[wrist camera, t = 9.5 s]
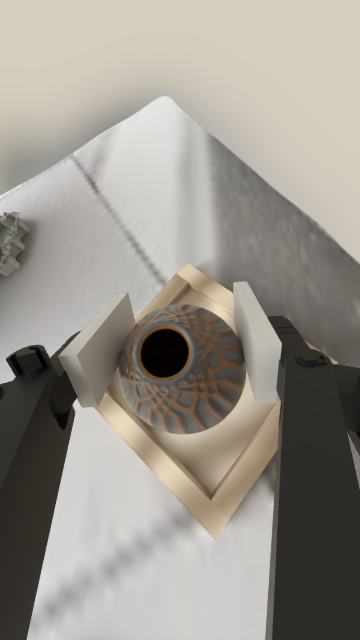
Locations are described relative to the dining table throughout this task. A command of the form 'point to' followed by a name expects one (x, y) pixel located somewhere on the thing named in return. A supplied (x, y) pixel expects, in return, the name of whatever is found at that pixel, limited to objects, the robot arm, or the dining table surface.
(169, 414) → the vase
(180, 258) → the dining table surface
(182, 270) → the tray
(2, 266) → the egg carton
